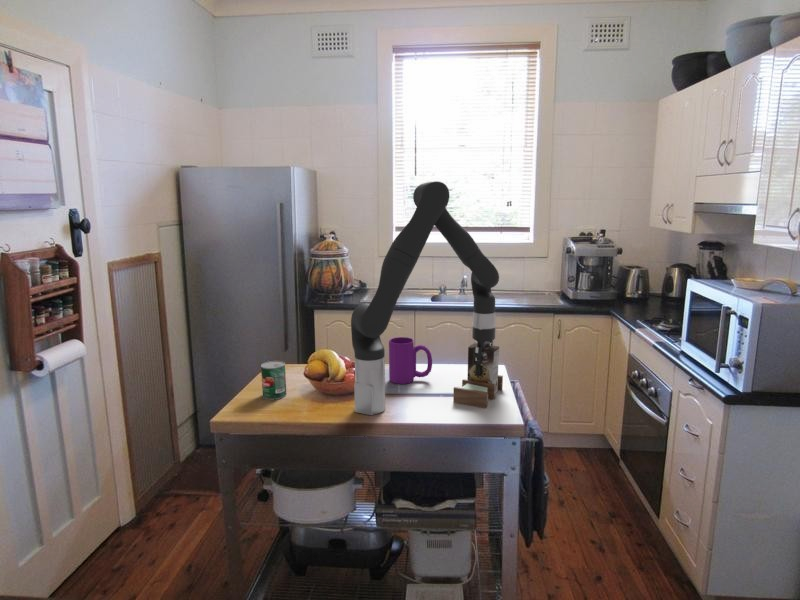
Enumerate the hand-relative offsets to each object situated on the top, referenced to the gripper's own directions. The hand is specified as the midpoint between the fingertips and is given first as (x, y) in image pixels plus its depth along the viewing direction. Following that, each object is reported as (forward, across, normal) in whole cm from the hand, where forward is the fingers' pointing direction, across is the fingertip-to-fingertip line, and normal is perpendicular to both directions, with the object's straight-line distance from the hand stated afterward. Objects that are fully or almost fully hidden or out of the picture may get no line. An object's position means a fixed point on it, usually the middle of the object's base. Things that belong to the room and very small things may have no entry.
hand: (482, 371), depth 177 cm
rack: (+7, +4, 0) cm, 8 cm away
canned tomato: (+7, +33, -62) cm, 71 cm away
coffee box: (+7, 0, 0) cm, 7 cm away
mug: (+7, 0, -27) cm, 28 cm away
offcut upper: (+5, +9, 0) cm, 10 cm away
